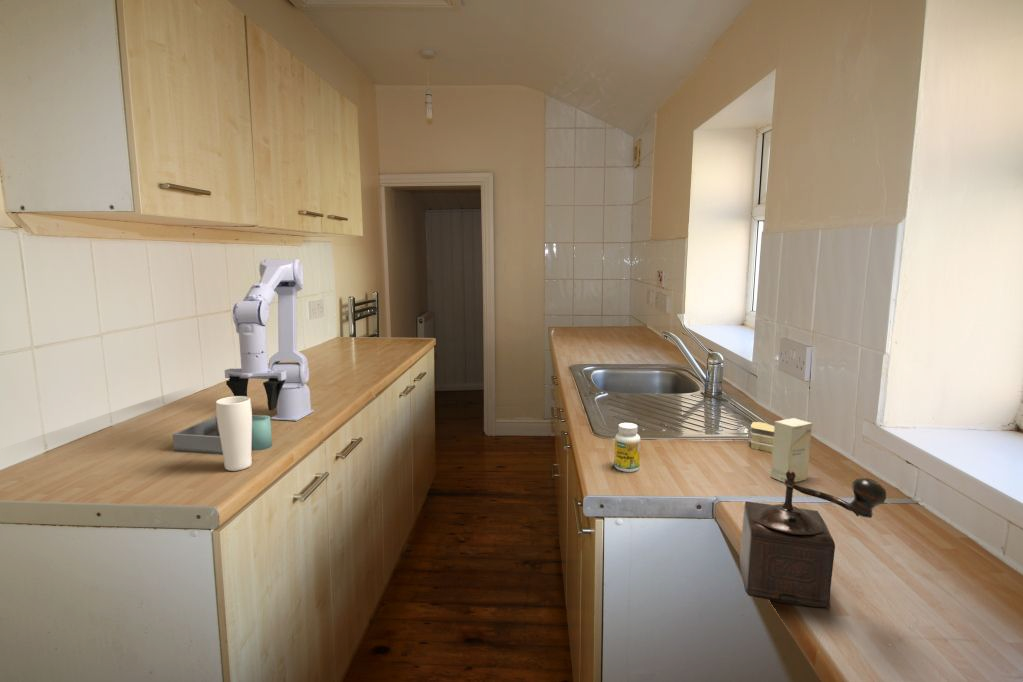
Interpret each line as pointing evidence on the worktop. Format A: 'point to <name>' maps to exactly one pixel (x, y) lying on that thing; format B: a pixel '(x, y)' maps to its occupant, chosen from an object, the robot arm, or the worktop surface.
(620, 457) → the supplement bottle
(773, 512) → the manual coffee grinder
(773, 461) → the skincare box
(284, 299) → the robot arm
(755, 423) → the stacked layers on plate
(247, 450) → the drinking glass
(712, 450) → the worktop surface
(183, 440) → the tray
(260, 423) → the teal cylinder
